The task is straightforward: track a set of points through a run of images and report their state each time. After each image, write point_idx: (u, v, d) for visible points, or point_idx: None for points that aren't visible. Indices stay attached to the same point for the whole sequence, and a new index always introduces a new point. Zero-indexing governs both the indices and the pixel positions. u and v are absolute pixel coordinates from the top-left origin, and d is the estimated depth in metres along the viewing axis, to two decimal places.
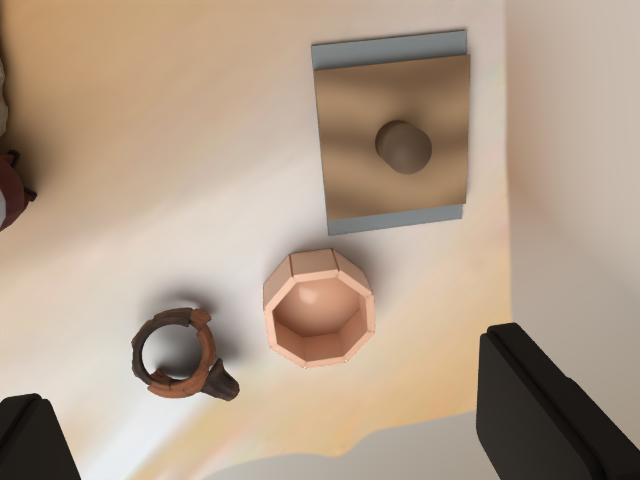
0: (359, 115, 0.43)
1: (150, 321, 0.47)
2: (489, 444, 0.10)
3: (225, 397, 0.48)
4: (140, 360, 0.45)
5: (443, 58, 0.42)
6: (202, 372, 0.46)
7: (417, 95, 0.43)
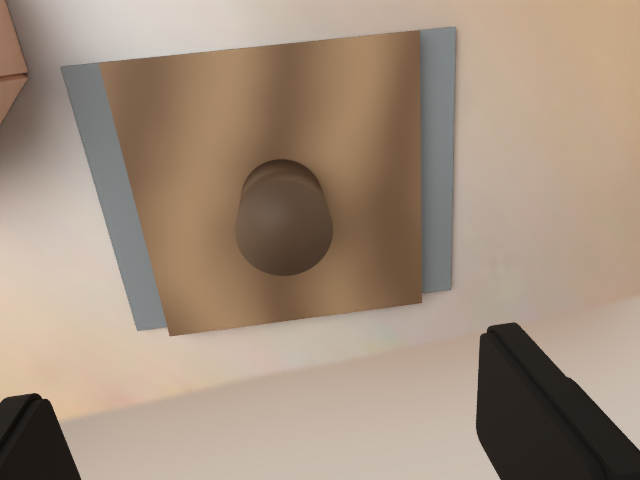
0: (332, 125, 0.22)
1: None
2: (489, 444, 0.10)
3: None
4: None
5: (420, 263, 0.26)
6: None
7: (364, 229, 0.24)
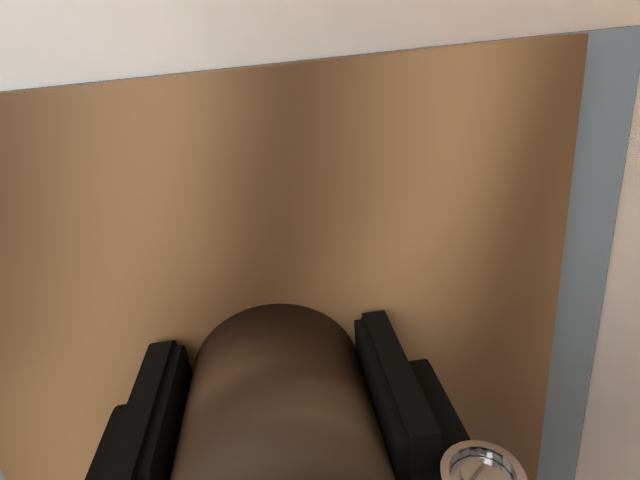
0: (384, 235, 0.10)
1: None
2: None
3: None
4: None
5: (535, 466, 0.14)
6: None
7: None
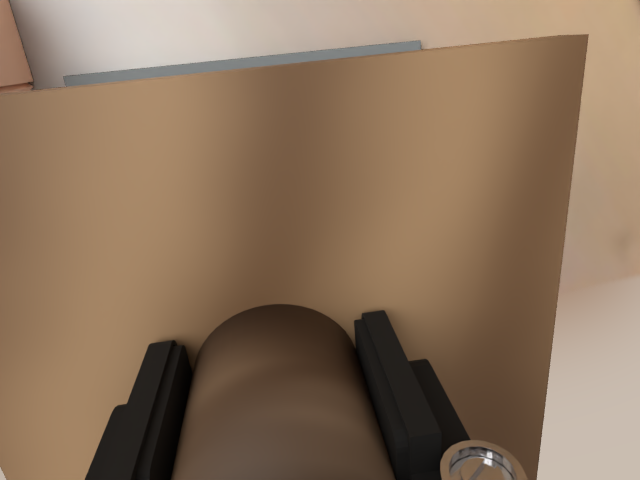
0: (384, 236, 0.10)
1: None
2: None
3: None
4: None
5: (534, 466, 0.14)
6: None
7: None
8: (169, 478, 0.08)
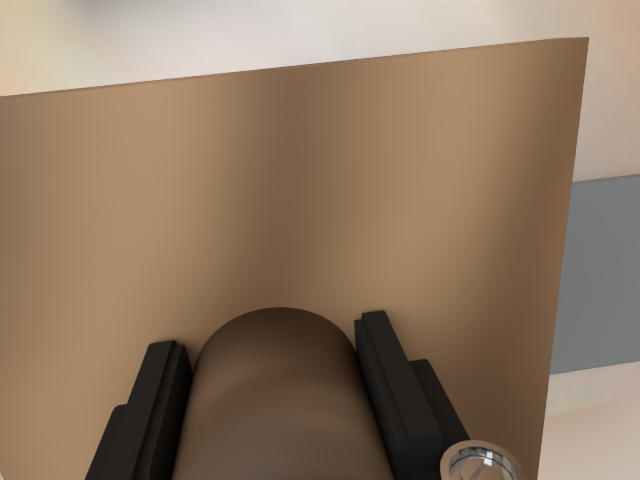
0: (384, 240, 0.10)
1: None
2: None
3: None
4: None
5: (535, 469, 0.14)
6: None
7: None
8: (169, 478, 0.08)
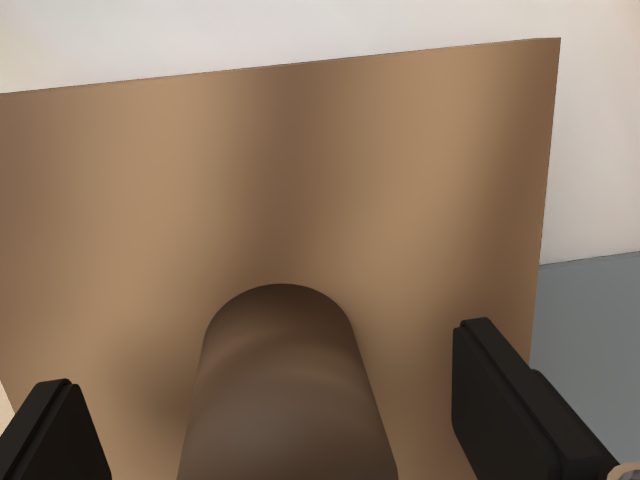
0: (377, 221, 0.11)
1: None
2: (462, 435, 0.11)
3: None
4: None
5: None
6: None
7: (427, 392, 0.14)
8: None
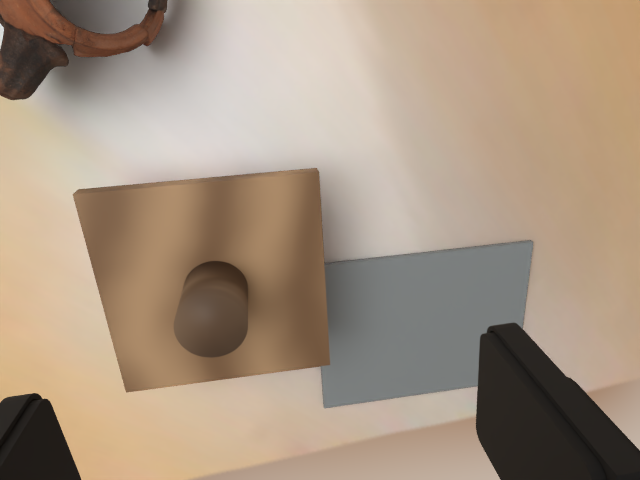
0: (254, 237, 0.29)
1: None
2: (489, 444, 0.10)
3: (3, 76, 0.24)
4: None
5: (327, 335, 0.33)
6: (67, 34, 0.23)
7: (281, 310, 0.31)
8: None
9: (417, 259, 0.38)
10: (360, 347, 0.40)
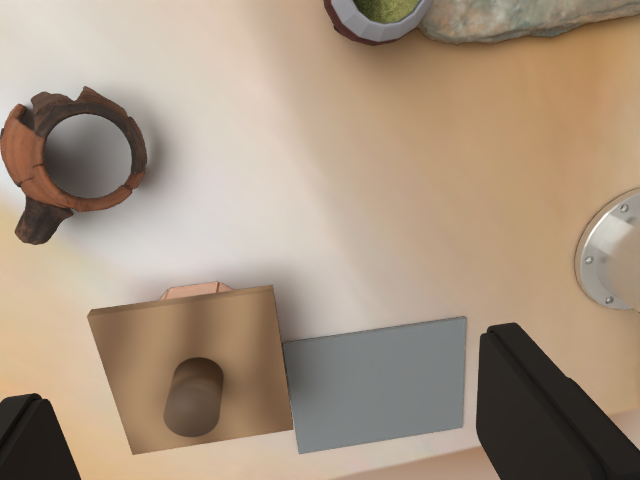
0: (225, 339, 0.38)
1: (125, 115, 0.34)
2: (489, 444, 0.10)
3: (27, 234, 0.33)
4: (73, 115, 0.30)
5: (289, 407, 0.41)
6: (71, 206, 0.32)
7: (251, 390, 0.40)
8: None
9: (368, 336, 0.46)
10: (325, 405, 0.48)
